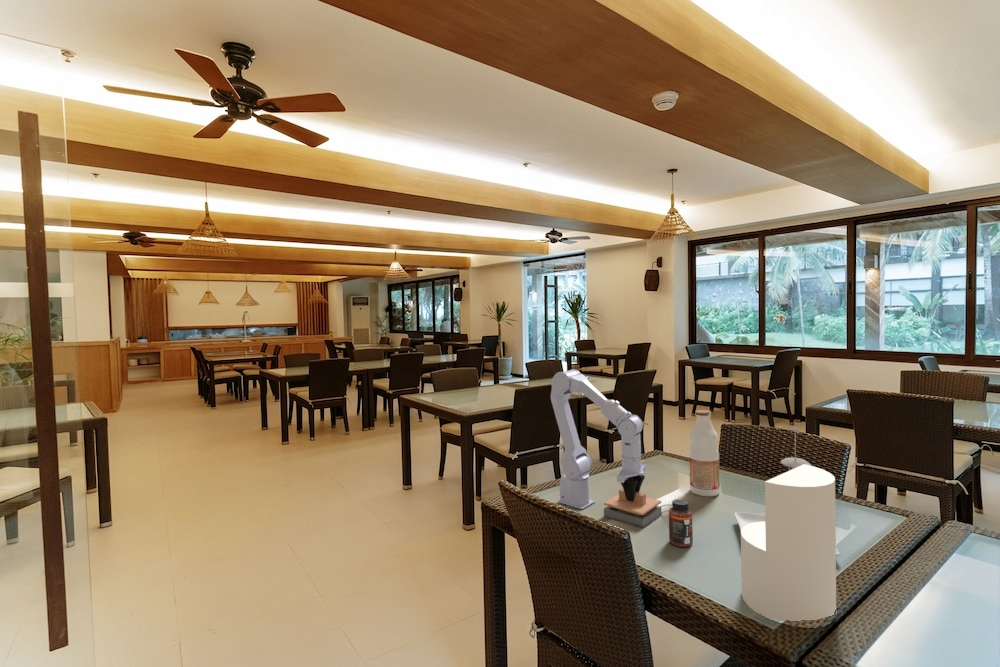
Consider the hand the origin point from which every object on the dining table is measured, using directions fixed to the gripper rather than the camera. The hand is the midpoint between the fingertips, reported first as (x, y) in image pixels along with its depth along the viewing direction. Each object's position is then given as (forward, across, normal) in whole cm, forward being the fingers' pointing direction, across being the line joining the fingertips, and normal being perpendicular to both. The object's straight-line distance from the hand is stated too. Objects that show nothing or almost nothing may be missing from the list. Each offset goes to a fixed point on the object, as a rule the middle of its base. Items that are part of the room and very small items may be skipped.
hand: (632, 499), depth 150 cm
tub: (+5, 0, 0) cm, 5 cm away
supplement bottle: (+5, -8, -19) cm, 21 cm away
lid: (+1, 0, 0) cm, 1 cm away
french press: (+5, +39, -36) cm, 53 cm away
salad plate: (+6, +10, -39) cm, 40 cm away
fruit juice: (+5, +33, -10) cm, 35 cm away
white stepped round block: (+5, -20, -47) cm, 51 cm away
